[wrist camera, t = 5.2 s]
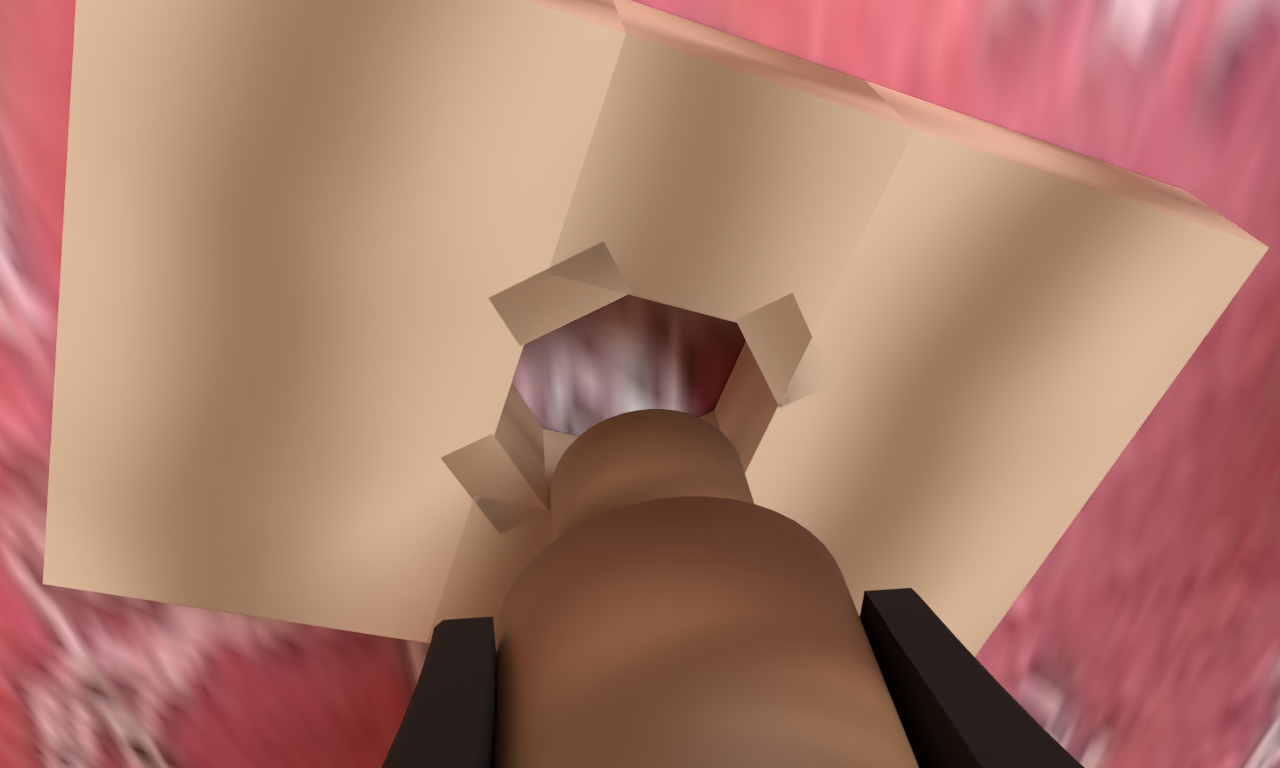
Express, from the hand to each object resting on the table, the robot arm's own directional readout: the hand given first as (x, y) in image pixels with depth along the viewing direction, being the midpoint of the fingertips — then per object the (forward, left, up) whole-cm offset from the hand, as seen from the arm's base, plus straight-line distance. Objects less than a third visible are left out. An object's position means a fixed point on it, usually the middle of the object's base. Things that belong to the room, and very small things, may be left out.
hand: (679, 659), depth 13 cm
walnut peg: (0, 0, -3) cm, 3 cm away
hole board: (0, 0, -8) cm, 8 cm away
